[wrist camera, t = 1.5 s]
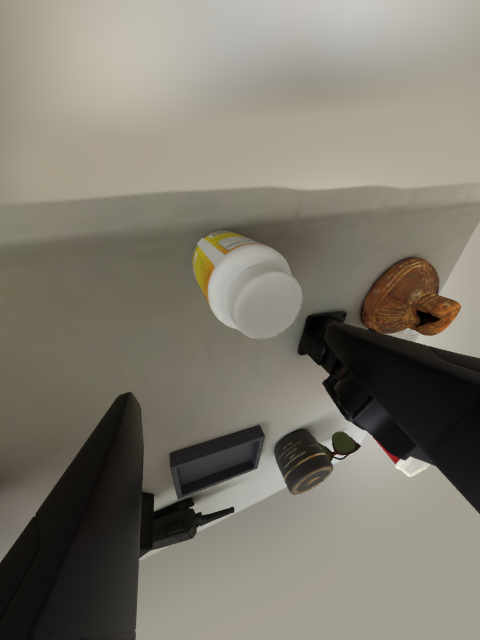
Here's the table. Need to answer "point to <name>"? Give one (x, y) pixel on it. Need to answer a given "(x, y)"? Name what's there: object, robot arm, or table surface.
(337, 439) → the sunglasses
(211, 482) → the tray
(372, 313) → the bell
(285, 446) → the jar
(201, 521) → the walkie-talkie
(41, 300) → the table surface
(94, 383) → the table surface
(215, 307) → the supplement bottle
